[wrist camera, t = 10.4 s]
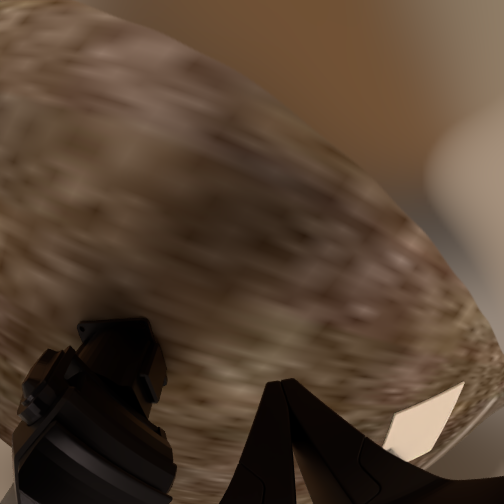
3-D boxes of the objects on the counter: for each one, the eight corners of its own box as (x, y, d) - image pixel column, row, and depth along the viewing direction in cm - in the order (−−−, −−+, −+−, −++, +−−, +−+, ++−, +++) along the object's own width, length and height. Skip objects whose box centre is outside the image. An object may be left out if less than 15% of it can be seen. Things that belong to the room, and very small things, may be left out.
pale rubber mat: (369, 475, 30) (370, 477, 30) (394, 413, 26) (395, 414, 26) (429, 449, 31) (430, 450, 31) (463, 380, 27) (464, 382, 26)
